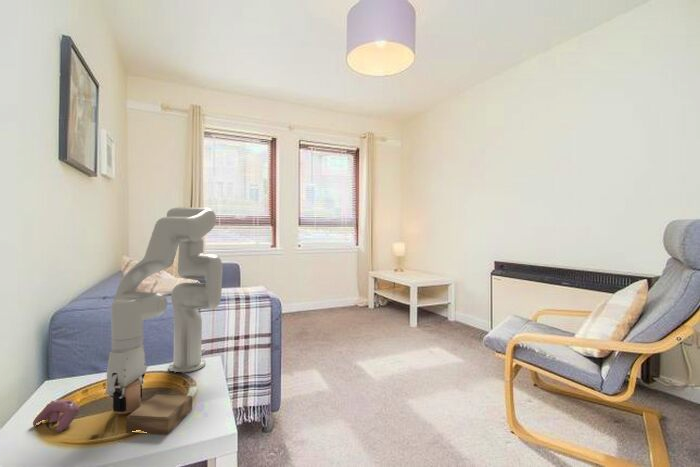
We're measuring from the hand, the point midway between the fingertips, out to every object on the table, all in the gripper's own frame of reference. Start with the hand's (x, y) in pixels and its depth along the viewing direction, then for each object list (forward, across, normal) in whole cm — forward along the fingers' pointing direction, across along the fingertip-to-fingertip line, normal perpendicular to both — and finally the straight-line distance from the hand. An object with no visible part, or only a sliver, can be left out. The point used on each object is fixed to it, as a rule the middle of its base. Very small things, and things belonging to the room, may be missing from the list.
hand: (128, 404), depth 98 cm
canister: (+1, 0, 0) cm, 1 cm away
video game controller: (+2, +8, -14) cm, 16 cm away
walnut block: (+2, +4, +12) cm, 13 cm away
